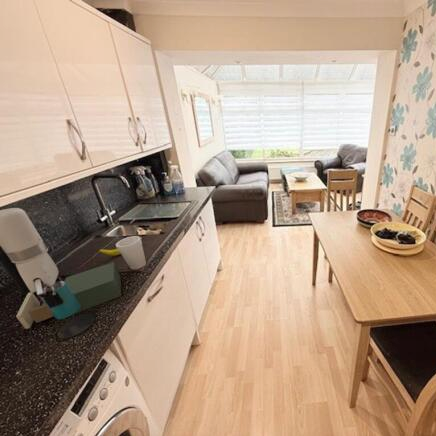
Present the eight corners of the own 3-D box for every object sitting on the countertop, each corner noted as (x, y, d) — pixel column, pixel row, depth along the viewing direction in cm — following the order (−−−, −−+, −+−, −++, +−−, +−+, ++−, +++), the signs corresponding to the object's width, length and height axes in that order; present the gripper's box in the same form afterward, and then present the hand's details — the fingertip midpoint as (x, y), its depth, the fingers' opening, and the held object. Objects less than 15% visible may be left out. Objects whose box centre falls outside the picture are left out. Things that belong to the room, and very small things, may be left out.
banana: (145, 246, 126) (141, 235, 124) (103, 261, 116) (97, 250, 113) (144, 244, 128) (140, 234, 126) (102, 259, 118) (96, 248, 115)
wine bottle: (22, 292, 99) (-24, 228, 86) (46, 281, 104) (6, 220, 92) (26, 298, 95) (-22, 233, 82) (51, 287, 100) (9, 224, 87)
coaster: (55, 344, 74) (54, 343, 74) (60, 323, 82) (60, 322, 82) (94, 328, 79) (93, 327, 79) (96, 309, 87) (95, 308, 87)
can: (53, 322, 74) (35, 297, 69) (57, 310, 79) (40, 286, 74) (79, 312, 77) (63, 288, 72) (81, 301, 82) (66, 277, 77)
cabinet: (69, 315, 85) (58, 299, 82) (75, 292, 96) (65, 277, 93) (121, 295, 92) (113, 280, 89) (120, 276, 104) (113, 261, 100)
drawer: (20, 331, 79) (10, 318, 76) (32, 306, 89) (23, 294, 87) (80, 308, 87) (72, 296, 84) (84, 288, 97) (77, 276, 94)
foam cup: (145, 269, 107) (134, 245, 101) (123, 273, 106) (111, 248, 100) (152, 257, 116) (143, 234, 110) (132, 260, 114) (122, 237, 109)
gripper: (19, 243, 72) (49, 288, 80) (-3, 271, 59) (36, 322, 67) (51, 235, 76) (77, 279, 84) (37, 259, 63) (70, 309, 70)
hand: (59, 298), depth 75 cm, fingers closed on can, 6 cm apart
